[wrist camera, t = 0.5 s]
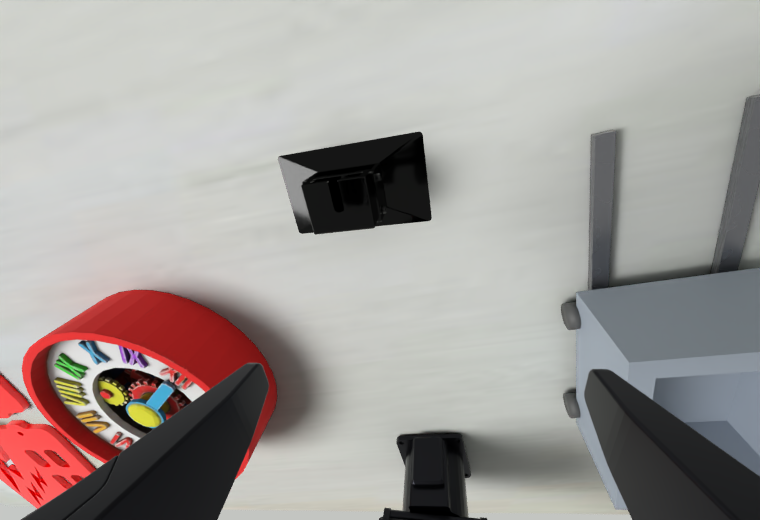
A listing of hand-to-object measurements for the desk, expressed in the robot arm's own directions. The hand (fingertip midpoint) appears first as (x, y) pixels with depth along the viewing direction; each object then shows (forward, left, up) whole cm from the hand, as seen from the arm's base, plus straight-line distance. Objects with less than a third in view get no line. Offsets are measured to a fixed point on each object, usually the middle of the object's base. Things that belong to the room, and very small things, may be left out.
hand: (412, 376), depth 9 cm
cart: (-13, -14, -14) cm, 24 cm away
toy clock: (-11, +27, -14) cm, 33 cm away
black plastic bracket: (+3, +4, -15) cm, 15 cm away
